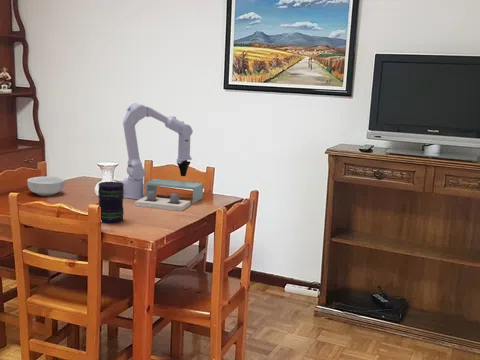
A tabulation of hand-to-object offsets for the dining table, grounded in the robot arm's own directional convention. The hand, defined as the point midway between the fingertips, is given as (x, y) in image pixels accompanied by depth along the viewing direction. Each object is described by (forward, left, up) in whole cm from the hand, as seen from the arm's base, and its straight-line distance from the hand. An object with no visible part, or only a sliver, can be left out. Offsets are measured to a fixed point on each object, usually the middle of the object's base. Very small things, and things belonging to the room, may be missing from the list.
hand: (183, 176), depth 279 cm
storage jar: (-9, -59, -10) cm, 60 cm away
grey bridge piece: (0, -12, -8) cm, 15 cm away
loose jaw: (-6, -26, -9) cm, 28 cm away
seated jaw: (+5, -26, -9) cm, 28 cm away
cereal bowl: (-58, -28, -10) cm, 65 cm away
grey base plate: (0, -26, -9) cm, 28 cm away
